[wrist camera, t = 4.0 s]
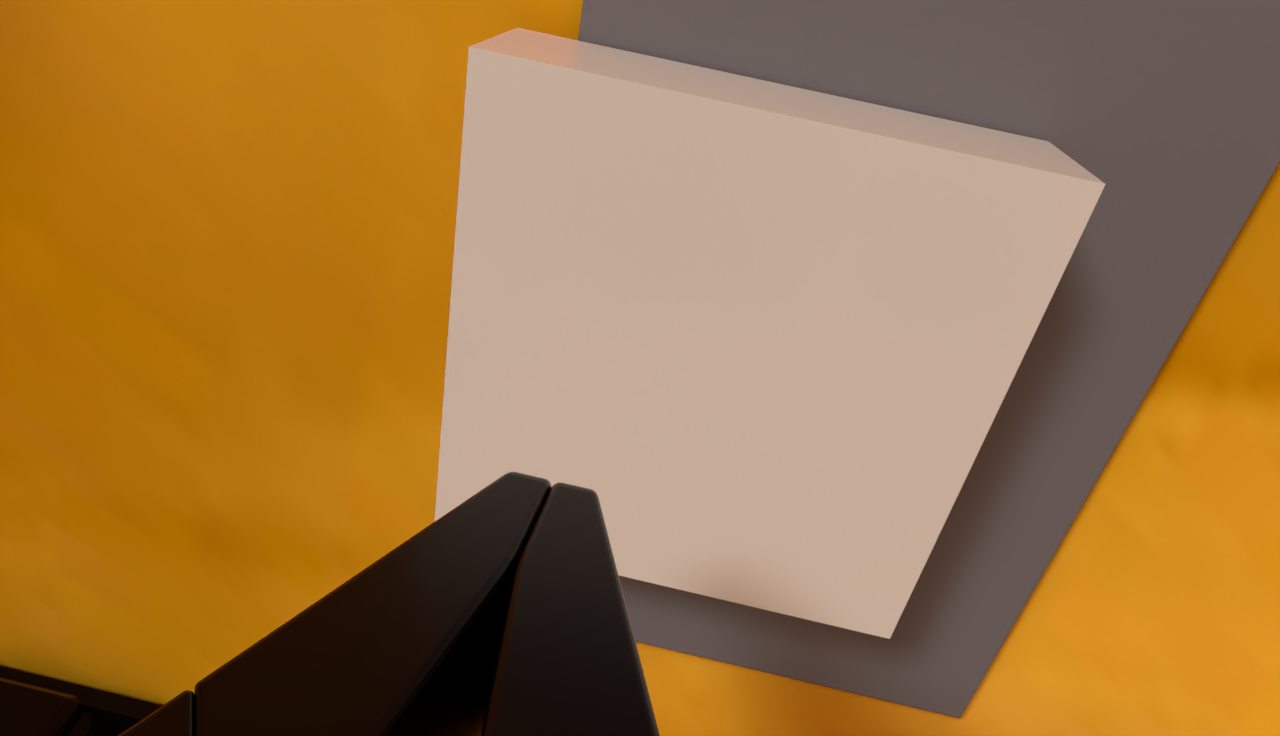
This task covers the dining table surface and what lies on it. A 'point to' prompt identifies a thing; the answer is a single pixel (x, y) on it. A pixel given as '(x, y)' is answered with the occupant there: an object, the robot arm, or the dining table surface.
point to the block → (740, 315)
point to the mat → (1080, 307)
